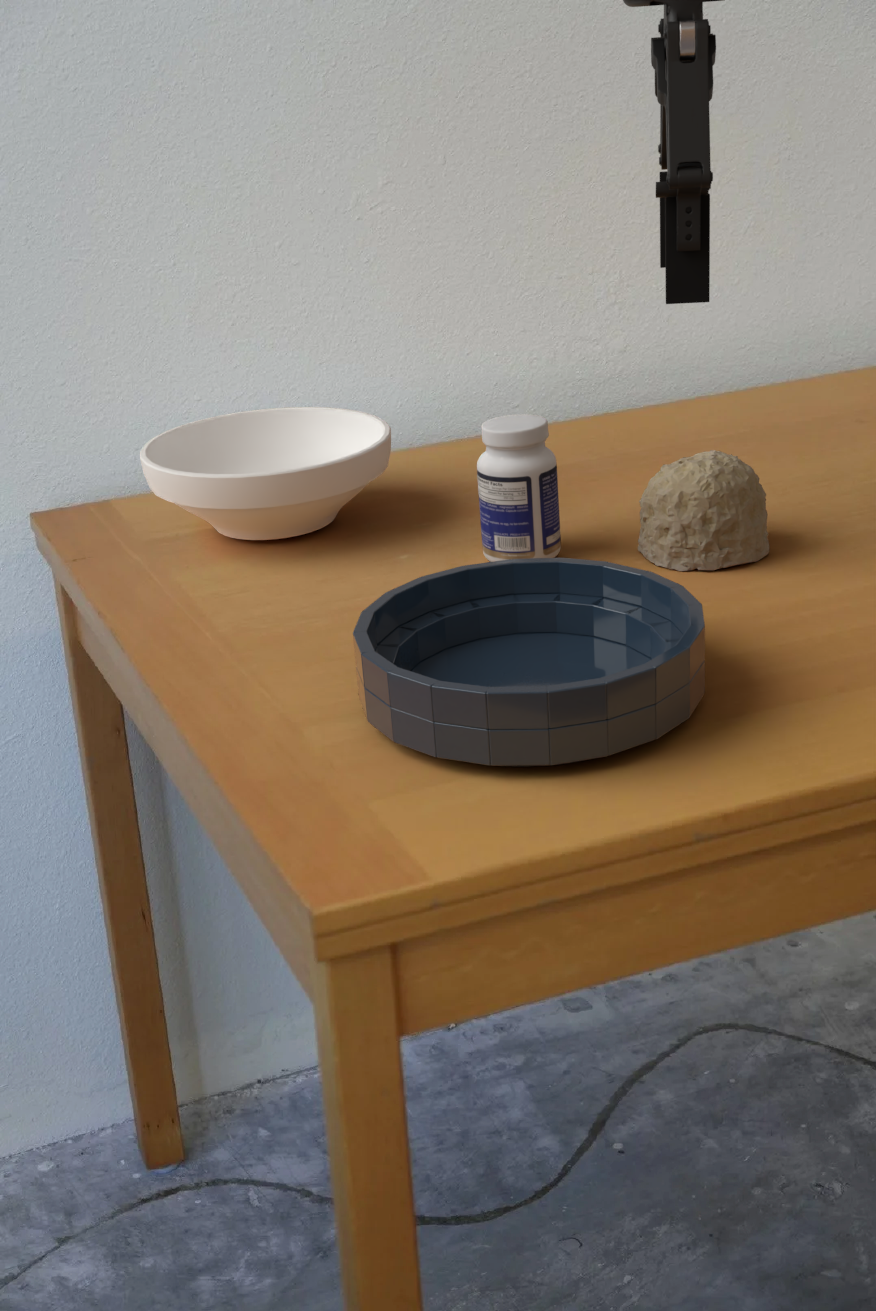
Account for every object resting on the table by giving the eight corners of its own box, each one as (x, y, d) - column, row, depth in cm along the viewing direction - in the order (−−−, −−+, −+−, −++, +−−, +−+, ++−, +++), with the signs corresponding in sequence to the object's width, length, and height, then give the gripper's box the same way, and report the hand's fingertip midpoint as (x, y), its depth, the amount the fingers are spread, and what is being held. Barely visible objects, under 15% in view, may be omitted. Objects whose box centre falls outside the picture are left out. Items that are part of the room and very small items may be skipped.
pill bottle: (534, 536, 111) (528, 406, 107) (576, 557, 106) (571, 422, 102) (468, 553, 109) (459, 421, 105) (507, 575, 104) (500, 437, 100)
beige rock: (638, 610, 107) (632, 529, 98) (639, 503, 112) (634, 417, 103) (769, 608, 105) (775, 525, 97) (765, 500, 110) (770, 412, 102)
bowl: (137, 511, 124) (124, 427, 121) (361, 475, 129) (354, 394, 126) (172, 586, 107) (158, 491, 104) (430, 541, 112) (423, 450, 109)
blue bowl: (695, 628, 93) (695, 553, 91) (713, 778, 75) (713, 689, 73) (388, 634, 96) (381, 561, 94) (335, 780, 78) (326, 695, 76)
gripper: (621, -56, 103) (626, 255, 111) (621, -69, 80) (628, 322, 89) (730, -64, 102) (727, 250, 111) (762, -80, 79) (755, 317, 88)
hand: (683, 283), depth 100 cm, fingers open, 13 cm apart
